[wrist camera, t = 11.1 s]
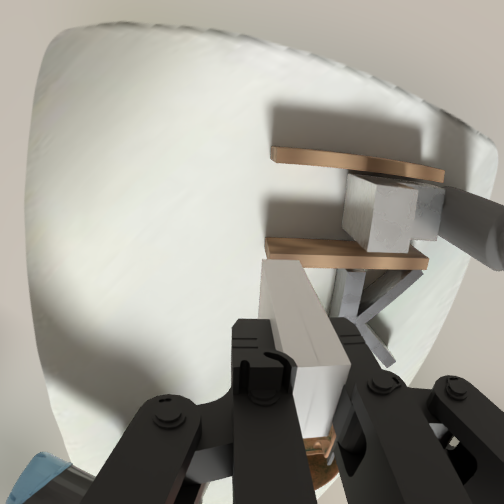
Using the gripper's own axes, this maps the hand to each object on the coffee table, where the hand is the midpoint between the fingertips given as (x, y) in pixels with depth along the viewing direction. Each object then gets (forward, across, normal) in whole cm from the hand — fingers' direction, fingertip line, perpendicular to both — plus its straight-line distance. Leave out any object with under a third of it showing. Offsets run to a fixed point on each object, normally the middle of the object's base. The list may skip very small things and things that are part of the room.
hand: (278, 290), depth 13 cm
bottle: (+18, +22, +1) cm, 28 cm away
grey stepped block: (+18, +14, +1) cm, 23 cm away
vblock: (+18, +14, -11) cm, 25 cm away
